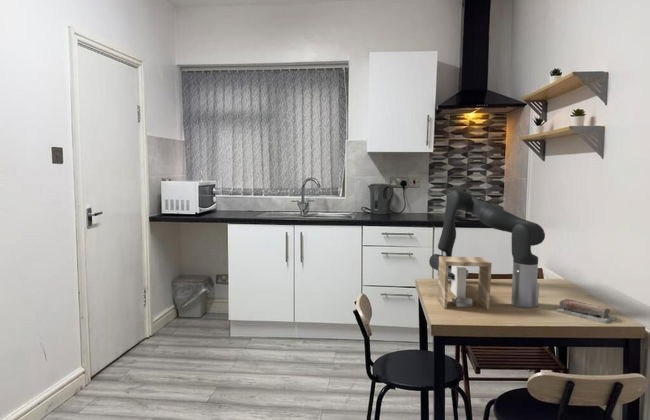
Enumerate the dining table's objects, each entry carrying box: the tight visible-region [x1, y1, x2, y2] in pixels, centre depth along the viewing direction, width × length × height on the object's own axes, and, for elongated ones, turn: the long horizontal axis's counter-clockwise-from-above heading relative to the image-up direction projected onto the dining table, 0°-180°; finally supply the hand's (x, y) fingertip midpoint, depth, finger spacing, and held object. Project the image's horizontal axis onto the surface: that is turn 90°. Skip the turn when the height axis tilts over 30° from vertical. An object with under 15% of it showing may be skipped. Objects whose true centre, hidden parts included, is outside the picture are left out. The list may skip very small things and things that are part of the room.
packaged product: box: [556, 298, 618, 324], centre depth 181 cm, size 18×5×10 cm
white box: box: [450, 266, 467, 298], centre depth 199 cm, size 3×12×12 cm, turn 179°
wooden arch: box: [437, 255, 492, 311], centre depth 191 cm, size 18×12×18 cm
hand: (458, 277), depth 199 cm, fingers closed on white box, 3 cm apart
